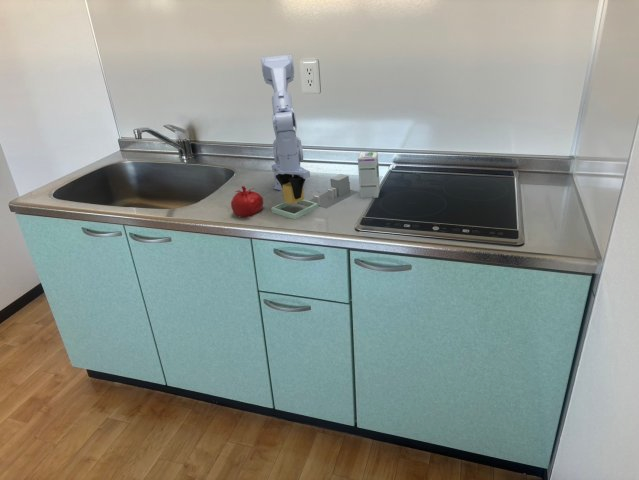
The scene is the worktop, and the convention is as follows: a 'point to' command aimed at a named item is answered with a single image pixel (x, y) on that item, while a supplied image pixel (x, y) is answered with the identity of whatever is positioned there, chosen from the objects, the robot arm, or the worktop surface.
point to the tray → (294, 216)
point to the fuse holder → (331, 197)
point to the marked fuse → (290, 194)
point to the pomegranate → (246, 203)
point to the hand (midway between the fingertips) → (293, 196)
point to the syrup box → (368, 175)
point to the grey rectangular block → (340, 184)
